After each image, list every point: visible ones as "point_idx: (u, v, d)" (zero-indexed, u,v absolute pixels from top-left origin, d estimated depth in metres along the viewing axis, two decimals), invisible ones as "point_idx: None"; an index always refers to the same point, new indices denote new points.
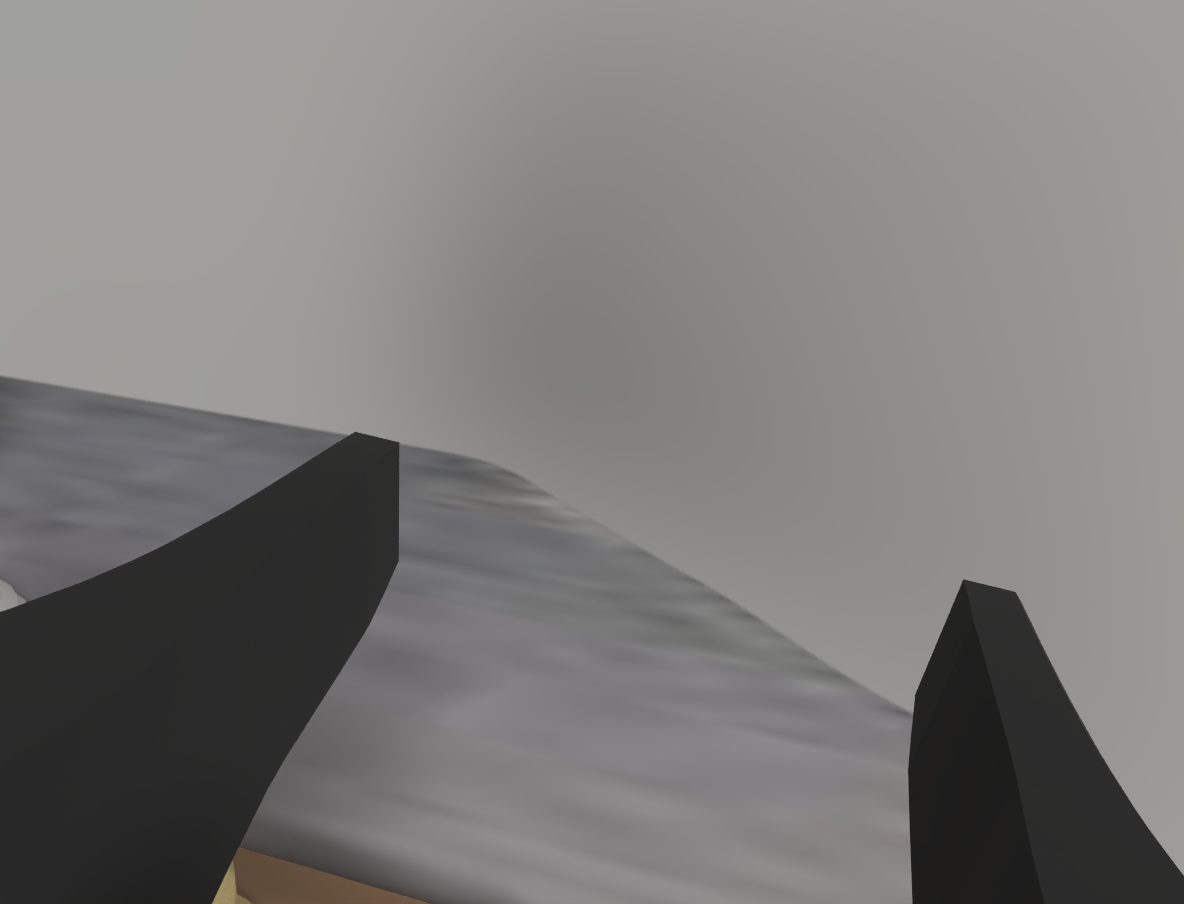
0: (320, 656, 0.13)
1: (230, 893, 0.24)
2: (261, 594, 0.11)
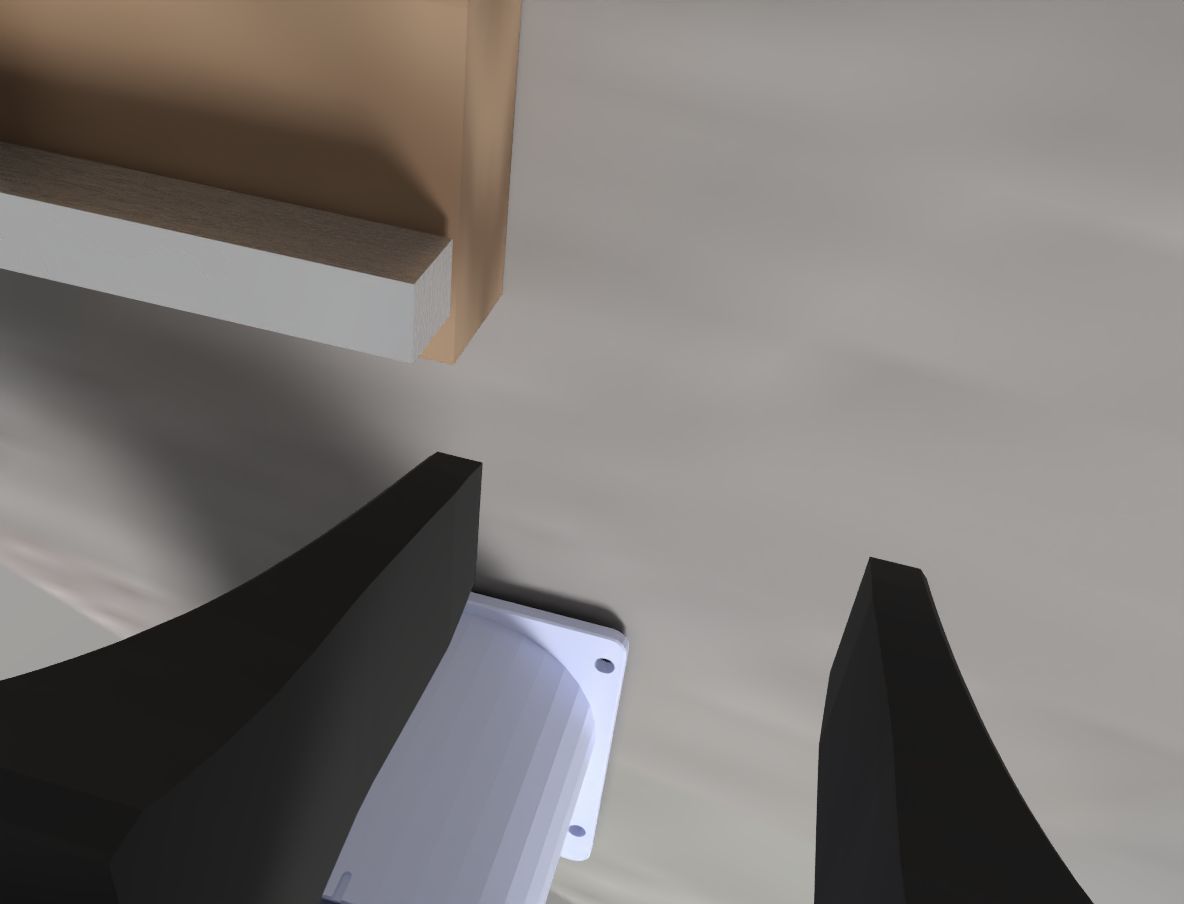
0: (407, 680, 0.13)
1: None
2: (362, 622, 0.11)
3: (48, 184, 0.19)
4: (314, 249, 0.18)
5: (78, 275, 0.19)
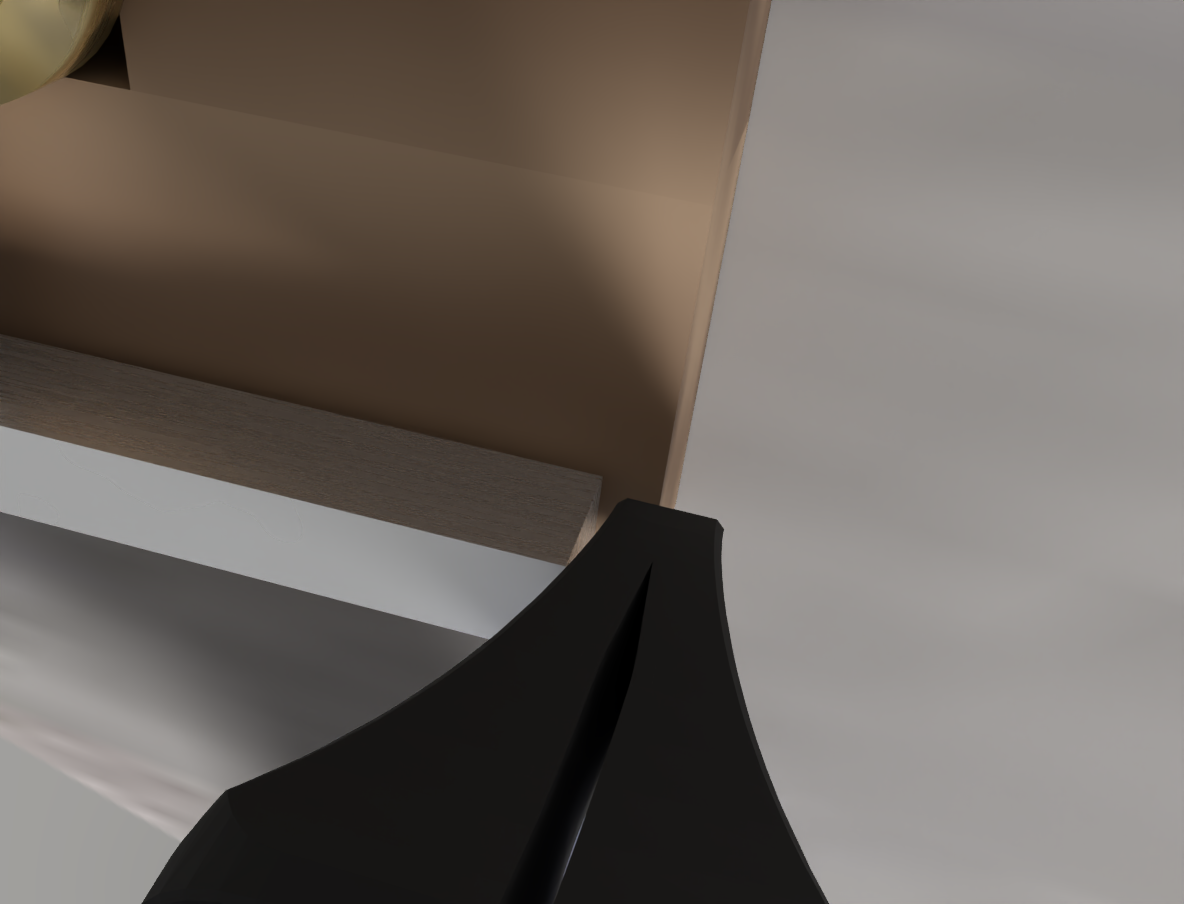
0: (608, 734, 0.13)
1: None
2: (599, 685, 0.11)
3: (58, 405, 0.14)
4: (423, 507, 0.13)
5: (99, 525, 0.14)
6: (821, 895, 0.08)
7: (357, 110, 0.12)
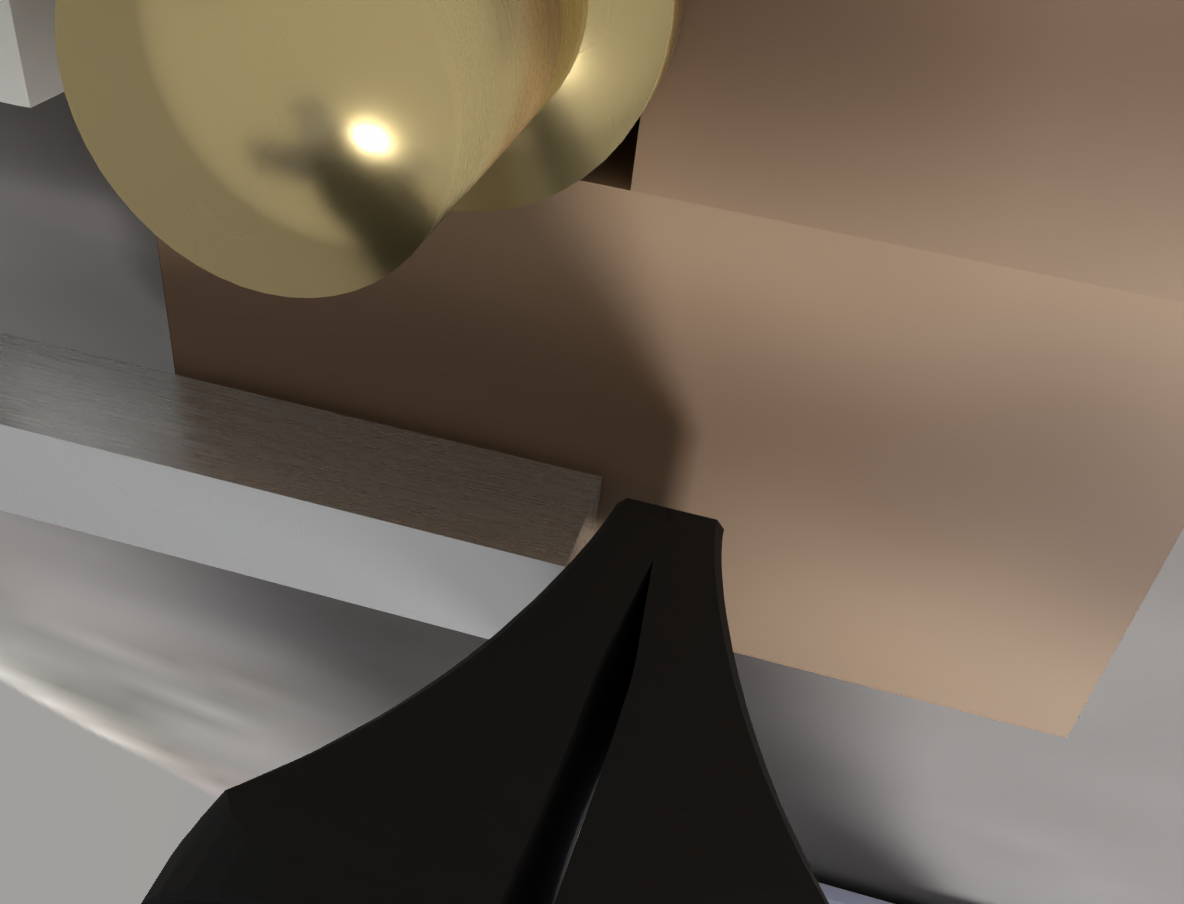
0: (608, 735, 0.13)
1: (456, 109, 0.07)
2: (598, 684, 0.11)
3: (58, 403, 0.14)
4: (423, 507, 0.13)
5: (99, 524, 0.14)
6: (821, 895, 0.08)
7: (897, 218, 0.12)
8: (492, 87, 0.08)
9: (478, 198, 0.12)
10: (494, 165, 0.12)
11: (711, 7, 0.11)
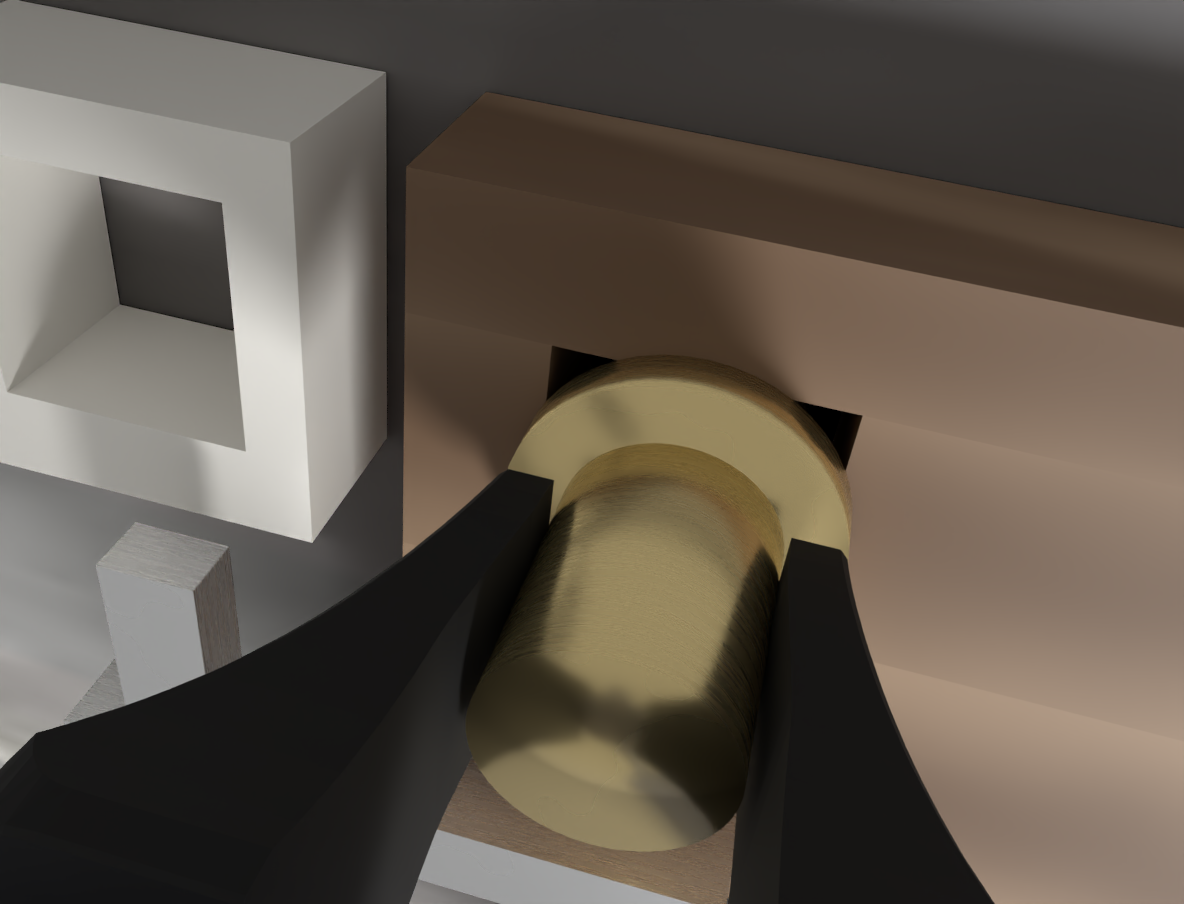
0: None
1: (746, 778, 0.11)
2: (450, 644, 0.11)
3: None
4: (608, 855, 0.17)
5: None
6: None
7: (1000, 678, 0.16)
8: (755, 726, 0.12)
9: None
10: None
11: (867, 545, 0.15)
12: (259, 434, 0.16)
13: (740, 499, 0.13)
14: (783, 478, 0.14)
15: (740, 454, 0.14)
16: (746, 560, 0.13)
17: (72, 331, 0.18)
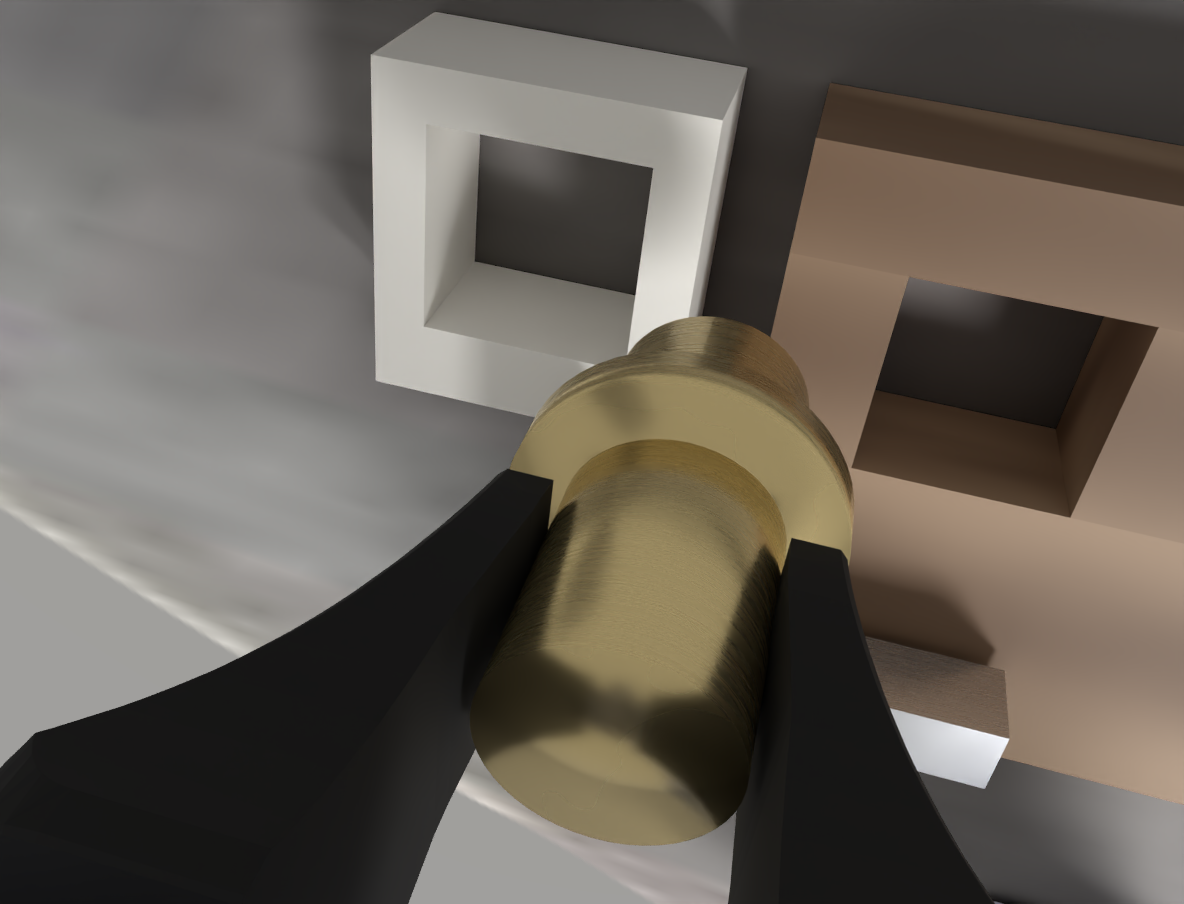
0: None
1: None
2: (449, 644, 0.11)
3: None
4: (908, 697, 0.21)
5: None
6: None
7: None
8: (758, 720, 0.12)
9: None
10: None
11: (1146, 433, 0.19)
12: None
13: (742, 494, 0.13)
14: (785, 473, 0.14)
15: (742, 449, 0.14)
16: (748, 553, 0.13)
17: (454, 280, 0.23)
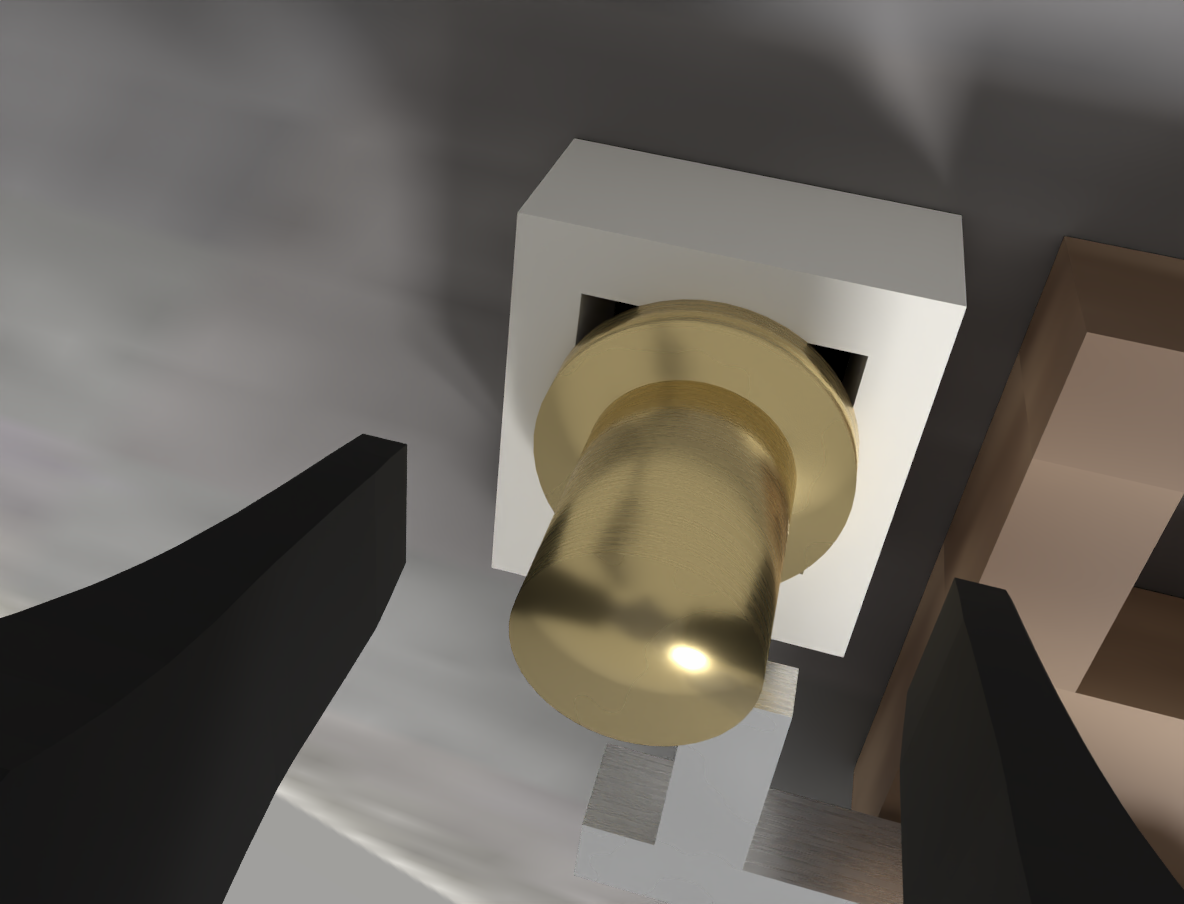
0: (328, 659, 0.13)
1: (765, 670, 0.12)
2: (270, 596, 0.11)
3: (824, 860, 0.19)
4: None
5: None
6: None
7: None
8: (772, 628, 0.13)
9: None
10: None
11: None
12: (824, 560, 0.17)
13: (756, 429, 0.14)
14: (795, 410, 0.15)
15: (755, 388, 0.15)
16: (762, 480, 0.14)
17: None
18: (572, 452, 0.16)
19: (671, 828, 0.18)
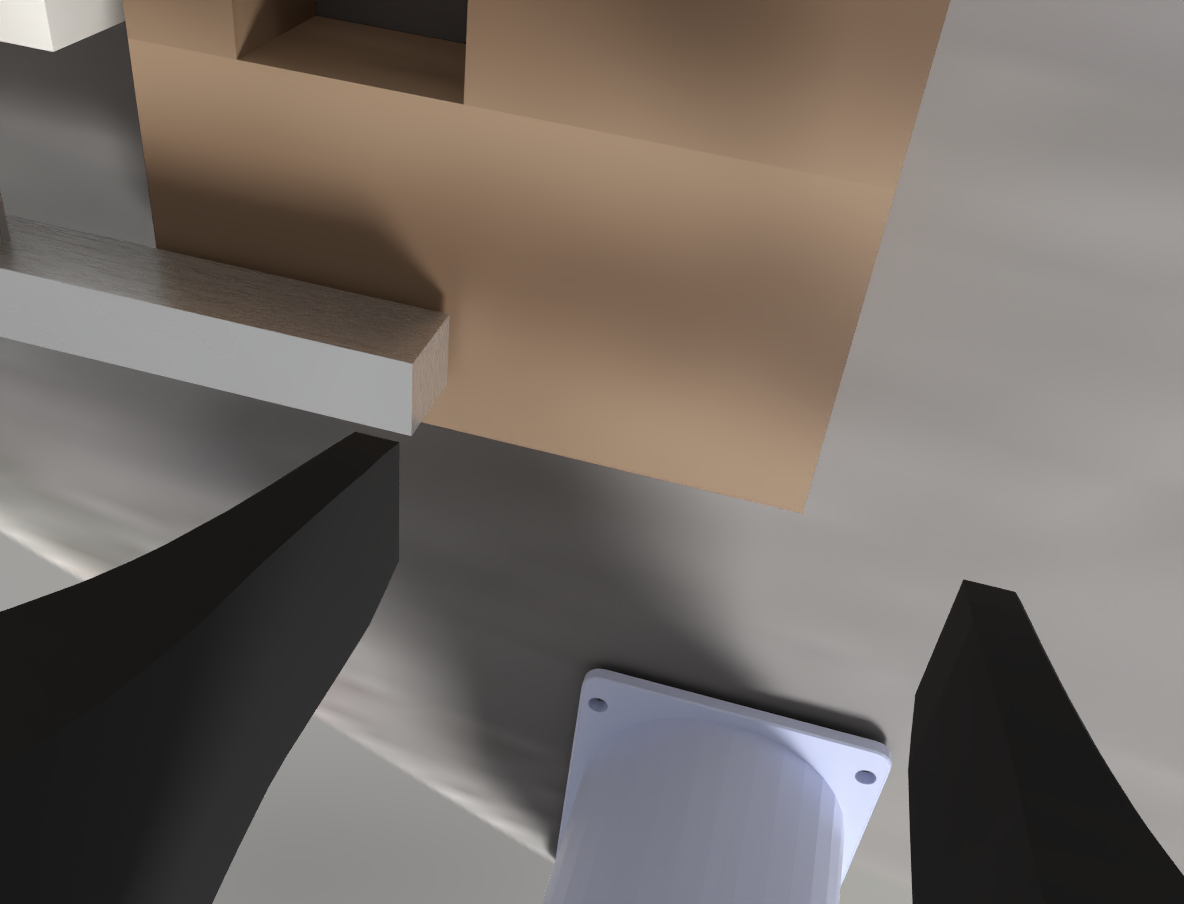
0: (320, 656, 0.13)
1: None
2: (261, 594, 0.11)
3: (63, 262, 0.20)
4: (317, 328, 0.19)
5: (91, 349, 0.20)
6: None
7: (637, 120, 0.17)
8: None
9: None
10: None
11: None
12: None
13: None
14: None
15: None
16: None
17: None
18: None
19: None
